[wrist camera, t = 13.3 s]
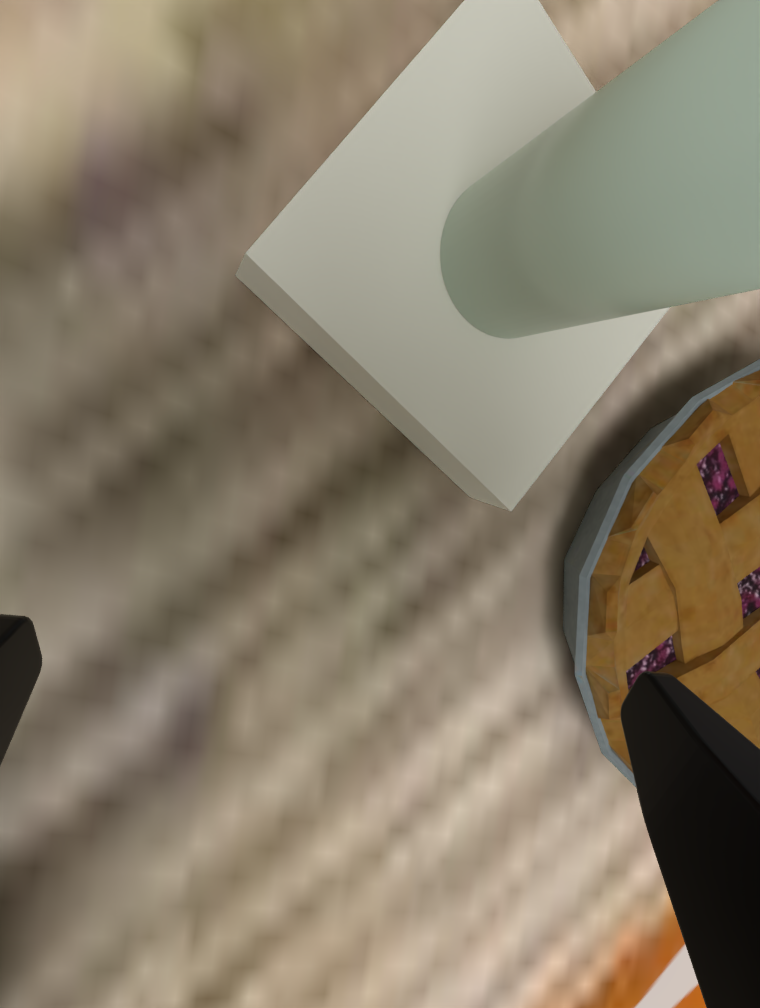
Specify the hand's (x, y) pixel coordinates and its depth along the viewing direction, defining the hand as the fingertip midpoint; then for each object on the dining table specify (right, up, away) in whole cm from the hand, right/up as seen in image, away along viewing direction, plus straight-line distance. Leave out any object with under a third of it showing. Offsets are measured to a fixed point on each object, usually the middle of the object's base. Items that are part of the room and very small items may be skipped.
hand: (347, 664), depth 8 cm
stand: (+4, +11, +13) cm, 17 cm away
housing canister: (+5, +10, +10) cm, 15 cm away
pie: (+18, -1, +20) cm, 27 cm away
